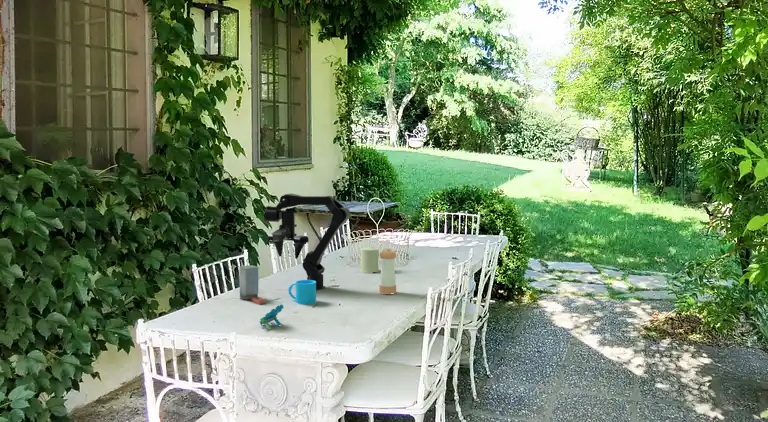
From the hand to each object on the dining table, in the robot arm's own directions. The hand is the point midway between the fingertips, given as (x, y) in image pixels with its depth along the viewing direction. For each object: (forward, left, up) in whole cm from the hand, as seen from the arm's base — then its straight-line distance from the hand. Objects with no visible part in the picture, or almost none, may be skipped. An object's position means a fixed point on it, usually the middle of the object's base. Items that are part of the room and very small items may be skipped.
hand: (288, 257), depth 284 cm
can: (-11, -49, -13) cm, 52 cm away
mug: (-22, +18, -13) cm, 31 cm away
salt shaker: (-43, -14, -13) cm, 47 cm away
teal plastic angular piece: (-35, +51, -13) cm, 63 cm away
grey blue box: (-1, +26, -11) cm, 28 cm away
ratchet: (-5, +27, -13) cm, 31 cm away
